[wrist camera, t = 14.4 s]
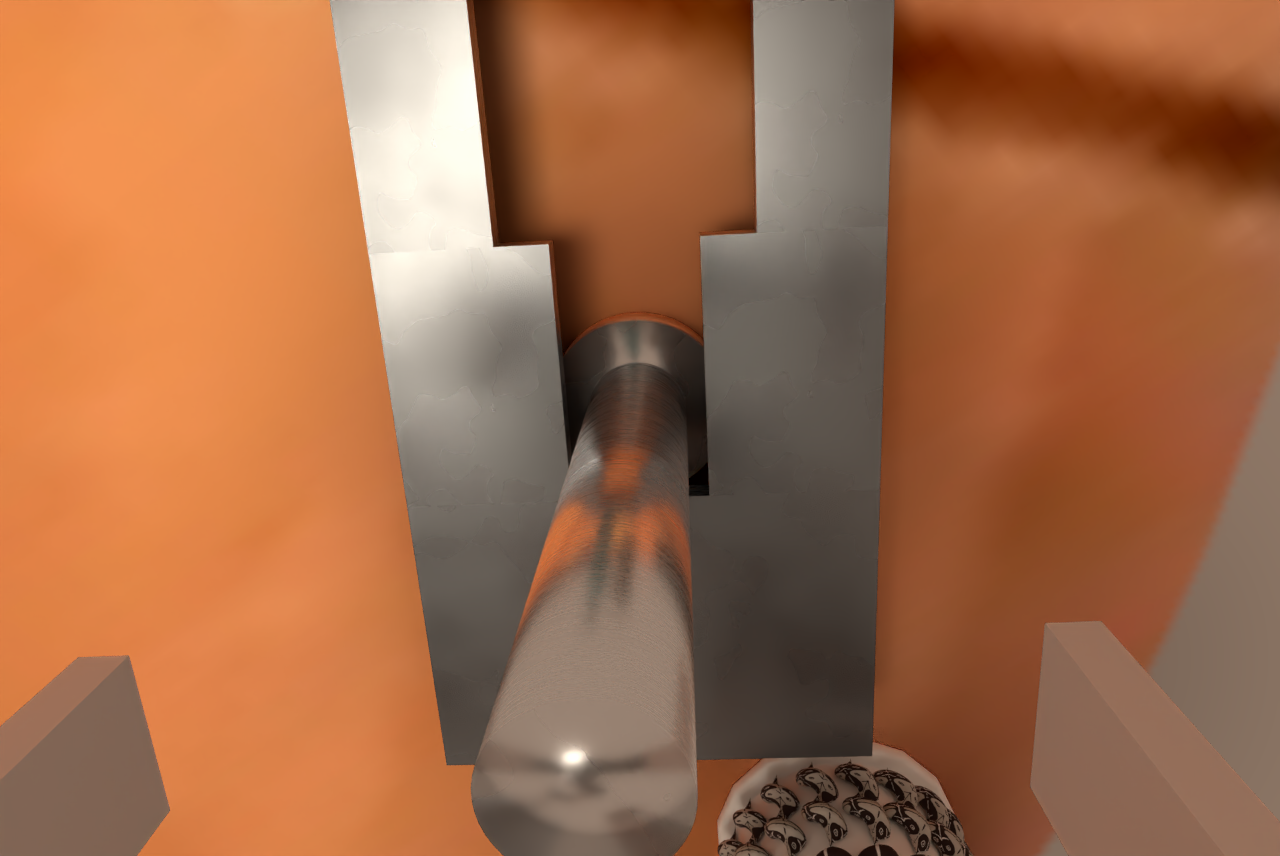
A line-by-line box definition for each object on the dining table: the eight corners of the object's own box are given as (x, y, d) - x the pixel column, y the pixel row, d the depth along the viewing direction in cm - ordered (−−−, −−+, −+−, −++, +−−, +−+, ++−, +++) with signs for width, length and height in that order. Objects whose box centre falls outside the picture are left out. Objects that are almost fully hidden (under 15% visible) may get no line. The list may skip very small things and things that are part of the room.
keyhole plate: (852, 692, 30) (872, 756, 27) (469, 702, 31) (447, 764, 28) (871, -222, 22) (902, -277, 19) (346, -178, 23) (295, -224, 20)
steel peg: (728, 474, 28) (796, 956, 12) (561, 480, 28) (405, 959, 12) (724, 307, 26) (796, 605, 10) (546, 316, 27) (344, 618, 10)
